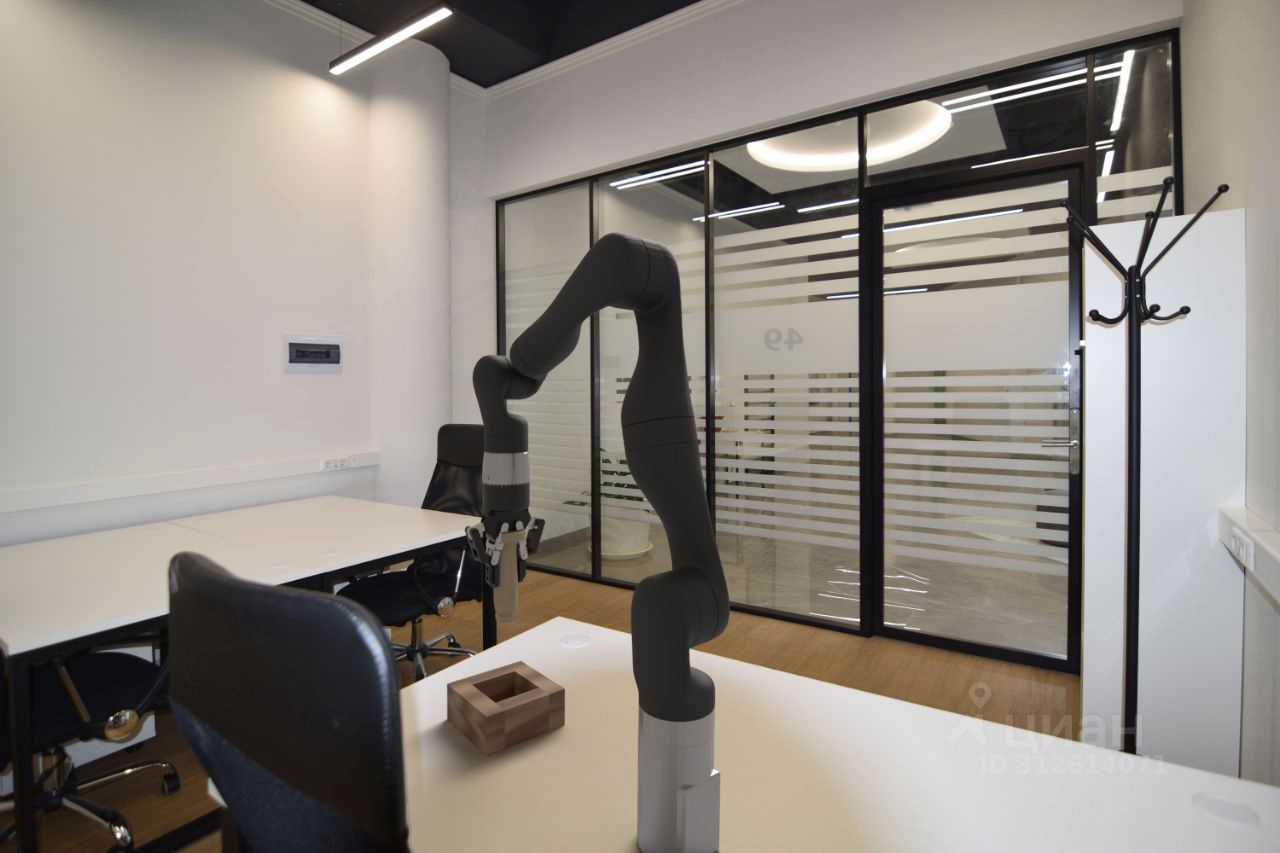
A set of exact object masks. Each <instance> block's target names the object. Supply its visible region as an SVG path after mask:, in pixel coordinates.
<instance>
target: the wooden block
mask: <svg viewBox="0 0 1280 853" xmlns="http://www.w3.org/2000/svg"><path fill="white" fill-rule="evenodd" d="M446 719H447V720H448V721H449V723H451V724H452V725H453V726H454V727H455V726H456V727H457V728H456V727H455V728H456V729H457V730H459V731H460V732H461V733H462V734H463V735H464V736H465V737H466V738H467V739H468V740H469V741H470V742H472V744H473V745H475V746H476V748H478V749H479V750H480V751H481V752H482V753H483V754H484V755H485V756H487V757H488V756H490V755H493V754H494V753H495V754H496V753H497V752H501V751H503V750H505V749H507V748H510V747H513V746H515V745H518V744H520V743H522V742H525V741H527V740H530V739H533V738H534V737H538V736H539V735H542V734H544V733H547V732H550V731H552V730H554V729H557V728H559V727H561V726H564V725H566V689H565V687H563V686H561V685H560V684H559V683H557V682H555V681H553V680H552V679H551V678H548V677H547V676H546V675H544V674H542V673H541V672H540V671H538V670H536V669H535V668H533V667H532V666H530V665H528V664H526V663H525V662H524V661H522V660H519V661H516V662H512V663H510V664H506V665H504V666H499V667H496V668H493V669H490V670H487V671H483V672H480V673H477V674H474V675H471V676H468V677H465V678H461V679H458V680H455V681H450V682H448V683H447V684H446Z"/></svg>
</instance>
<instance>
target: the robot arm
mask: <svg viewBox="0 0 1280 853" xmlns="http://www.w3.org/2000/svg"><path fill="white" fill-rule="evenodd" d="M680 276H681V275H680V270H679V265H678V261H677V258H676V256H675V255H674V252H673V251H672V250H671V248H670V247H668V245H665V244H664V243H663V242H660V241H656V240H653V239H650V238H646V237H645V238H644V237H642V236H639V235H633V234H631V233H626V232H620V231H619V232H618V231H617V232H616V231H613V232H610V233H607V234H604V235H603V236H602V237H601V238H599V239H598V240H597V241H596V242H595V243H594V244H593V245H592V246H591V247H590V249H589V250H588V251H587V252H586V254H585V255H584V256H583V257H582V259H581V260H580V262H579V263H578V265H577V266H576V268H575V269H574V270H573V272H572V274H571V275H570V276H569V277H568V278H567V280H566V282H565V283H564V284H563V285H562V288H561V289H560V290H559V292H558V293H557V294H556V296H555V297H554V299H553V300H552V302H551V303H550V305H549V306H548V307H547V308H546V310H545V311H544V312H543V313H542V314H541V315H540V316H539V317H538V318H537V319H536V320H535V321H534V322H533V323H531V324H530V325H529V326H528V327H527V328H526V329H525V330H524V331H522V333H520V335H519V336H517V337H516V339H514V341H513V342H512V343H511V346H510V349H509V355H498V354H497V355H496V354H487V355H484V356H481V357H480V358H479V359H478V360H477V362H476V363H475V366H474V367H473V370H472V379H471V380H472V386H473V390H474V394H475V398H476V400H477V404H478V407H479V411H480V416H481V419H482V424H483V458H482V459H483V460H482V473H481V479H482V510H483V514H482V515H481V516H482V517H481V518H480V522H478V523H477V524H474V525H472V526H470V525H467V526H466V527H465V528H464V532H465V536H466V539H467V541H468V545H469V548H470V550H471V553H472V556H473V560H475V561H478V562H480V563H482V564H484V565H485V582H486V583H487V584H488V586H489V587H492V589H494V588H495V587H498V586H499V565H498V564H497V563H498V560H499V555H500V552H501V551H502V549H503V545H504V543H502V541H501V534H503V533H507V532H510V531H522V530H523V529H525V530H526V529H527V528H528V531H527V534H526V536H525V538H524V539H523V540H522V541H520V542H518V543H517V547H516V555H517V573H518V584H519V583H523V582H524V579H525V578H526V576H527V559H528V557H530V556H531V555H535V554H537V552H538V548H539V546H540V542H541V538H542V535H543V531H544V529H545V525H546V519H543V518H541V517H537V516H532V515H531V513H530V511H529V508H530V503H531V502H530V501H531V500H530V498H531V497H530V496H531V494H530V493H531V492H530V491H531V489H530V488H531V486H530V484H531V481H530V480H531V477H530V476H531V465H530V456H529V421H528V420H527V418H525V416H522V415H518V414H514V413H511V412H509V411H508V408H507V406H506V404H505V401H504V400H507V401H513V400H514V401H515V400H516V401H517V400H518V401H519V400H520V401H521V400H526V399H529V398H531V397H533V396H534V395H536V394H537V392H538V391H540V388H541V386H543V384H544V382H545V379H546V378H547V377H548V375H549V373H550V372H552V370H553V369H555V368H556V367H557V366H559V365H560V364H561V363H563V362H564V361H565V360H566V359H568V358H569V356H570V355H571V354H572V353H573V352H574V350H575V349H576V348H577V346H578V344H579V340H580V337H581V331H582V325H583V323H584V322H585V321H587V319H588V318H589V317H591V316H592V315H594V314H595V313H598V312H599V311H601V310H604V309H605V308H607V307H611V308H615V309H618V310H619V309H620V310H626V311H632V312H633V313H634V318H635V322H636V323H635V324H636V329H637V339H638V341H637V342H638V356H637V361H636V365H635V367H634V371H633V372H632V375H631V378H630V381H629V383H628V386H627V388H626V391H625V394H624V396H623V401H622V405H621V408H620V409H621V410H620V424H621V426H620V428H621V433H622V441H623V446H624V447H623V448H624V454H625V460H626V464H627V468H628V470H629V473H630V475H631V477H632V479H633V480H634V482H635V484H636V485H637V487H638V488H639V490H640V491H641V493H642V495H643V496H644V498H645V499H646V500H647V501H648V503H649V505H651V507H652V508H653V510H654V511H655V513H656V515H657V516H658V518H659V520H660V521H661V524H662V527H663V528H664V532H665V535H666V537H667V543H668V547H669V553H670V560H671V568H672V569H671V570H668V571H667V570H666V571H663V572H660V573H655V574H652V575H650V576H647V577H645V578H643V579H641V580H640V581H639V583H638V584H637V585H636V587H635V589H634V592H633V594H632V598H631V605H630V631H631V632H630V633H631V635H630V636H631V653H632V654H631V656H632V659H631V660H632V670H633V671H632V672H633V676H634V682H635V684H636V688H637V691H638V718H637V719H638V722H637V723H638V725H637V730H638V731H637V786H636V787H637V796H636V797H637V798H636V799H637V800H636V801H637V802H636V803H637V805H636V809H637V812H636V813H637V814H636V815H637V817H636V825H637V826H636V841H637V845H638V848H639V850H640V852H641V853H715V852H717V851H719V850H720V823H721V820H720V818H721V816H720V814H721V773H720V771H718V770H716V769H715V729H716V725H715V724H716V720H715V719H716V686H715V682H714V680H713V678H712V677H711V676H710V675H709V674H707V672H704V671H703V670H701V669H699V668H696V667H694V666H691V660H690V659H691V656H690V655H691V654H690V650H691V649H692V648H695V647H698V646H700V645H703V644H705V643H708V642H711V641H712V640H714V639H716V638H718V637H719V636H721V635H722V634H724V631H725V630H726V628H727V627H728V625H729V624H728V623H729V620H730V613H731V602H730V596H729V589H728V585H727V581H726V576H725V572H724V568H723V565H722V560H721V557H720V552H719V549H718V544H717V541H716V537H715V534H714V533H715V532H714V529H713V524H712V519H711V514H710V508H709V504H708V498H707V491H706V486H705V482H704V476H703V470H702V464H701V463H702V462H701V454H700V444H699V436H698V432H697V426H696V425H697V424H696V419H695V412H694V408H693V403H692V398H691V390H690V383H689V382H690V381H689V374H688V367H687V359H686V351H685V344H684V343H685V342H684V341H685V340H684V329H683V328H684V324H683V308H682V306H683V305H682V304H683V303H682V286H681V277H680ZM483 531H484V532H485V534H486V533H487V534H488V535H489V537H491V538H492V539H494V540H496V543H495V544H494V543H493V542H492V541H491V540H489V539H488V538H486V541H485V546H484V542H483V539H482V538H483V536H484V535H483V534H484V533H483ZM485 547H486V548H485Z"/></svg>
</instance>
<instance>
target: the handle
mask: <svg viewBox="0 0 1280 853" xmlns="http://www.w3.org/2000/svg"><path fill="white" fill-rule="evenodd" d="M485 534H486V535H485V537H486V539H487V538H488V539H489V540H491V541H492V542H493V543H494V544H495V543H496V540H494V539H492V538H491V537H489V535H488V534H487V533H486V532H485ZM526 536H527V534H526V529H523V530H522V531H510V532H507V533H503V534H501V541H502V543H504V545H503V549H502V551H501V552H500V555H499V560H498V563H497V564H498V565H499V586H498V587H495V588H493V604H494V606H493V607H494V610H495V611H494V612H495V614H494V615H495V621H496V622H498V623H500V624H505V623H506V624H510V623H511V624H512V622H513V621H516V620H517V614H518V613H517V612H516V611H517V607H518V604H519V603H518V602H519V583H518V573H517V555H516V547H517V543H518V542H520V541H522V540H523V539H524V538H525V539H526Z"/></svg>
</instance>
